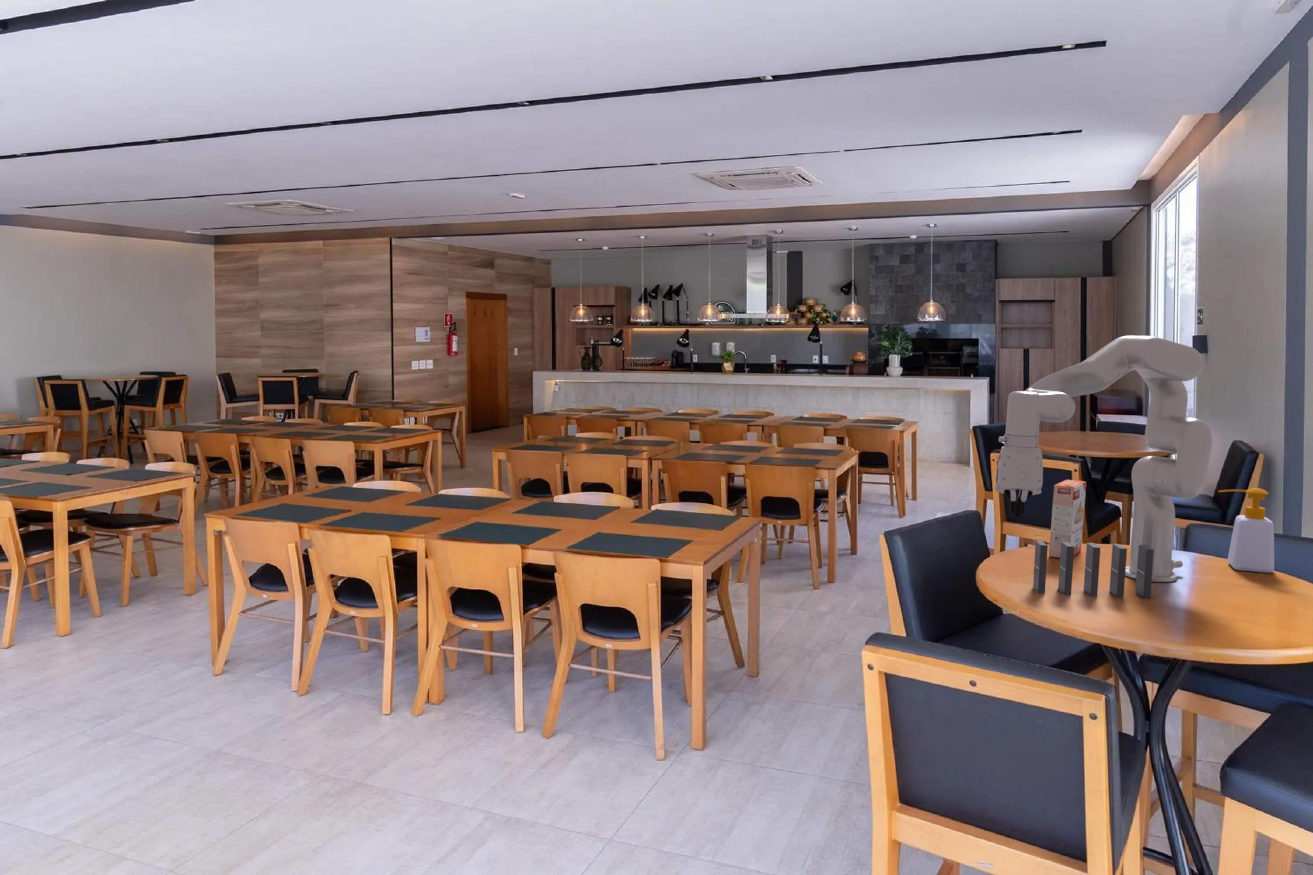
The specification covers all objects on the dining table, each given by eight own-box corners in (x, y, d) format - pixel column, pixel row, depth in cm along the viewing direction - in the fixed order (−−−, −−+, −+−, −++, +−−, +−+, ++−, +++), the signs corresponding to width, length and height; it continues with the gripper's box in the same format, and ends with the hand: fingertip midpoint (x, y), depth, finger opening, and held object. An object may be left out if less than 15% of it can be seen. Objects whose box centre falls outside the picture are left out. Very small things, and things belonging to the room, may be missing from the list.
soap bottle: (1208, 561, 257) (1214, 483, 254) (1266, 566, 252) (1273, 486, 249) (1215, 569, 248) (1221, 488, 245) (1275, 574, 243) (1282, 492, 240)
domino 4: (1116, 597, 220) (1119, 548, 219) (1109, 591, 225) (1112, 543, 224) (1123, 597, 220) (1127, 548, 219) (1116, 591, 225) (1119, 543, 224)
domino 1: (1037, 593, 223) (1040, 545, 222) (1032, 587, 228) (1035, 540, 227) (1044, 593, 223) (1047, 545, 221) (1039, 588, 228) (1042, 540, 226)
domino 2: (1064, 594, 222) (1067, 546, 221) (1058, 588, 227) (1061, 541, 226) (1071, 594, 222) (1074, 546, 221) (1065, 589, 227) (1068, 541, 225)
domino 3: (1090, 595, 221) (1093, 547, 220) (1083, 590, 226) (1086, 542, 225) (1097, 596, 221) (1100, 547, 220) (1090, 590, 226) (1093, 542, 225)
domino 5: (1142, 598, 220) (1146, 549, 218) (1135, 592, 225) (1138, 544, 223) (1150, 598, 219) (1153, 549, 218) (1142, 592, 224) (1145, 544, 223)
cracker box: (1070, 560, 256) (1075, 486, 253) (1047, 557, 259) (1052, 484, 257) (1082, 551, 267) (1087, 480, 264) (1060, 548, 270) (1065, 478, 268)
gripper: (992, 442, 219) (987, 518, 221) (1058, 445, 217) (1052, 521, 219) (986, 439, 227) (981, 512, 229) (1049, 442, 225) (1043, 515, 227)
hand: (1015, 516), depth 224 cm, fingers closed
